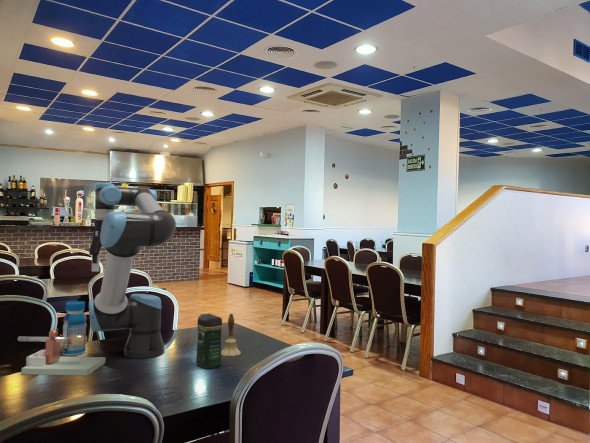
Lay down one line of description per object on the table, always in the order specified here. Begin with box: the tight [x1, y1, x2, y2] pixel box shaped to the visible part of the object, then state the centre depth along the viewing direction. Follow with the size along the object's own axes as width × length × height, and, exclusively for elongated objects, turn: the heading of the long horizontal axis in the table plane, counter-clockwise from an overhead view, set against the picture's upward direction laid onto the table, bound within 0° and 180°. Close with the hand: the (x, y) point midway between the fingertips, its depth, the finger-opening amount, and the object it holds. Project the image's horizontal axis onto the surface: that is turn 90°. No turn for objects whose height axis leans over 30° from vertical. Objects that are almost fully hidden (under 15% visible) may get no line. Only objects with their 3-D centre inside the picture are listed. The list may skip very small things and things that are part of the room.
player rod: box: [17, 329, 88, 363], centre depth 152 cm, size 23×5×11 cm, turn 91°
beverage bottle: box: [61, 300, 88, 357], centre depth 170 cm, size 8×8×20 cm
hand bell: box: [221, 313, 242, 358], centre depth 174 cm, size 8×8×16 cm
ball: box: [36, 349, 46, 357], centre depth 151 cm, size 4×4×4 cm
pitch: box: [20, 349, 106, 377], centre depth 151 cm, size 22×14×5 cm, turn 91°
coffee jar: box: [195, 313, 223, 369], centre depth 159 cm, size 10×8×19 cm
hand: (102, 269), depth 182 cm, fingers open, 13 cm apart
